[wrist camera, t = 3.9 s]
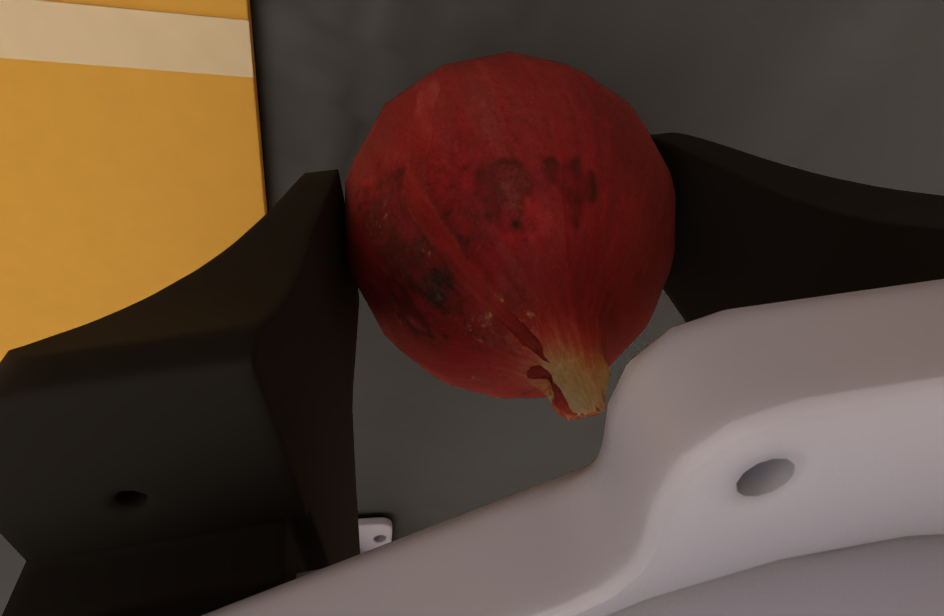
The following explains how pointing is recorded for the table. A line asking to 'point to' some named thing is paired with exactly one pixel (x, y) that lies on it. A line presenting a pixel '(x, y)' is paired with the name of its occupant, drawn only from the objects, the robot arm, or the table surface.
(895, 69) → the table surface
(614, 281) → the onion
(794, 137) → the table surface
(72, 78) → the towel
